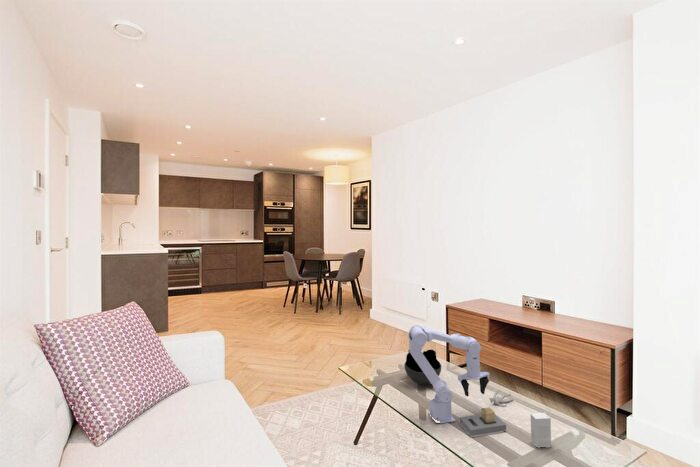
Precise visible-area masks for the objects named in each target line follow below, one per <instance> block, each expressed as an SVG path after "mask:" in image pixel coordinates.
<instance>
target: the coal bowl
mask: <svg viewBox="0 0 700 467" xmlns="http://www.w3.org/2000/svg"><path fill="white" fill-rule="evenodd" d="M407 351H408V352H407V354H406V356H405V360H406V361H405V363H404V365H403V366H404V370H405V373H406V375H407V377H408V378H409V379H410V380H411V381H413V382H414V383H415V384H419V385H422V386H423V385H430V384H431V382H430V381H429V379H428V378H427V377H426V375H425V374H424V372H423V371H422V369H421V368H420V366H419V365H418V364H417V362H416V361H415V359H414V358H413V356H412V355H411V353H410V351H409V349H408V350H407ZM422 353H423V355H424V356H425V358H426V359H427V361H428V362H429V363H430V365H431V366H432V368H433V369H434V371H435V372H436V374H437V375H438V376H439V377H440V375H441V372H442V364H441V363H440V361H439V360H438V358H437V352H436V350H434V349H427V350H426V351H425V350H424V351H423V350H422Z"/></svg>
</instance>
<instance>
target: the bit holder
mask: <svg viewBox="0 0 700 467" xmlns="http://www.w3.org/2000/svg"><path fill="white" fill-rule="evenodd" d="M459 424H460V426H461V427H462V428H463V429H464V430H465V431H466V433H467V434H468V436H469V437H470V438H474V437H482V436H487V435H494V434H500V432H501V433H504V432H503V431H505V430H506V431H507V424H506V423H505V422H504V421H503V420H502V419H501V418H499V417H498V416H497V414H495V423H492V424H486V425H485V424H484V423H483V422H482V421H481V413H480V414H472V415H465V416H460V417H459Z"/></svg>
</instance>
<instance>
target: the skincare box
mask: <svg viewBox="0 0 700 467" xmlns="http://www.w3.org/2000/svg"><path fill="white" fill-rule="evenodd" d="M551 422H552V421H551V417H550V416H549V415H547V414H546V412H536V413H535V412H534V413H530V440H531V441H532V442H533V443H534V444H535V446H536V447H546V448H552V430H551V429H552V425H551V424H552V423H551ZM531 441H530V442H531ZM532 442H531V443H532ZM533 443H532V444H533ZM535 446H534V447H535ZM536 447H535V448H536Z"/></svg>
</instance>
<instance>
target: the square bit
mask: <svg viewBox="0 0 700 467" xmlns="http://www.w3.org/2000/svg"><path fill="white" fill-rule="evenodd" d="M480 414H481V421H482V422H483V423H484V424H485V425H486V424H492V423H495V415H496V413H495V411H494V410H493V409H492V408H491V407H484V408H481V409H480Z"/></svg>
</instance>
